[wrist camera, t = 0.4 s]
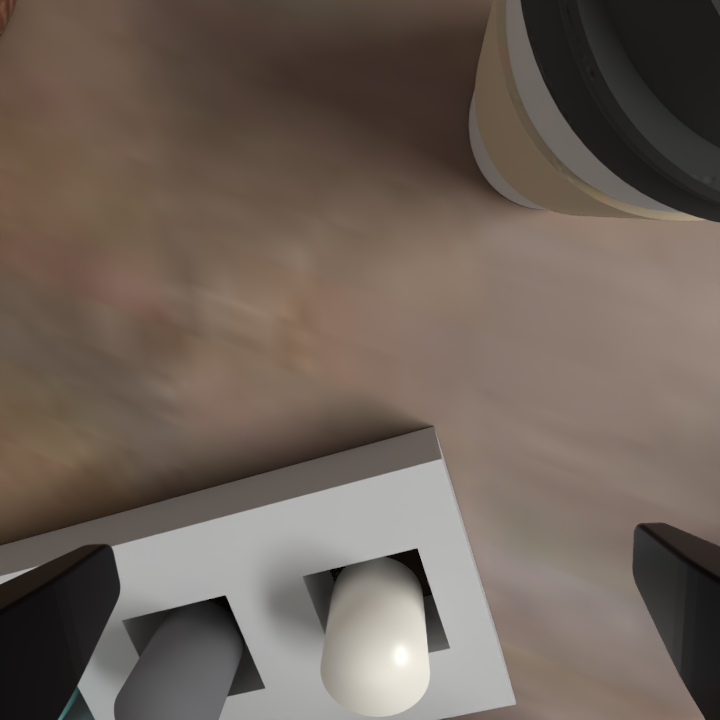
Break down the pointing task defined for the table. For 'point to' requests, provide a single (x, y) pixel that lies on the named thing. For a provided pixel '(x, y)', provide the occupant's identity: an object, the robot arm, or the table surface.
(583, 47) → the coffee cup
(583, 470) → the table surface
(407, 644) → the key ivory
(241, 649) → the key charcoal
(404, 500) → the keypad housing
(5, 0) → the planter
